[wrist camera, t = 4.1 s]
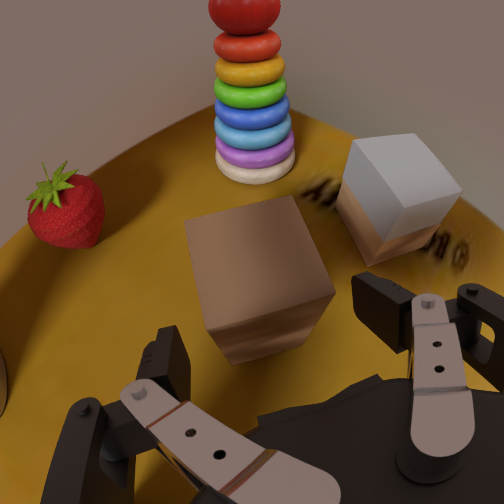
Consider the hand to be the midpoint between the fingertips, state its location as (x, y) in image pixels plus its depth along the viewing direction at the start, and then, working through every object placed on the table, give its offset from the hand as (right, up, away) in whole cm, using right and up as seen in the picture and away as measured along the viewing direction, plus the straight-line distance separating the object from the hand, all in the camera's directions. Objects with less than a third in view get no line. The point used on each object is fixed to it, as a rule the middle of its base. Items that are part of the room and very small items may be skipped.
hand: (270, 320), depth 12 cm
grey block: (+11, +7, +9) cm, 15 cm away
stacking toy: (0, +12, +16) cm, 21 cm away
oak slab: (+11, +5, +12) cm, 17 cm away
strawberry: (-16, +4, +12) cm, 20 cm away
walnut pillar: (0, -2, +8) cm, 8 cm away
